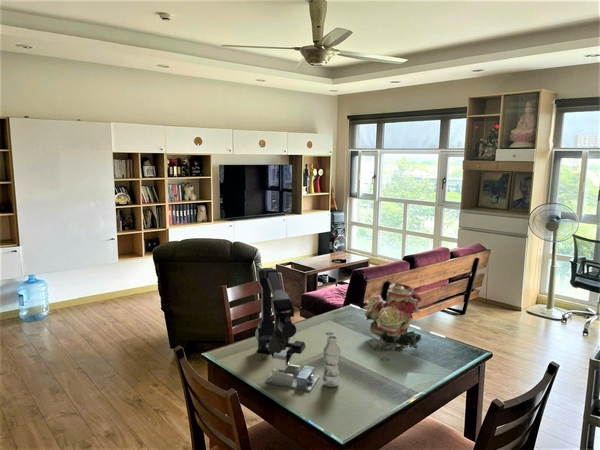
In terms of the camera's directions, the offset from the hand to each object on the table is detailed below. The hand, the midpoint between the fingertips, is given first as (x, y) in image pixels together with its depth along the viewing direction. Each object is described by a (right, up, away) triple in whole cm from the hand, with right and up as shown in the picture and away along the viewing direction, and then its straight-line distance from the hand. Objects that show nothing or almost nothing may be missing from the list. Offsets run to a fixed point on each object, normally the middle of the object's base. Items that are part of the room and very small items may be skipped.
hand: (281, 363), depth 178 cm
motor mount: (+4, -6, -1) cm, 8 cm away
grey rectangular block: (0, -1, 0) cm, 1 cm away
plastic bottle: (+20, -7, -4) cm, 22 cm away
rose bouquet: (+52, -1, +35) cm, 63 cm away
